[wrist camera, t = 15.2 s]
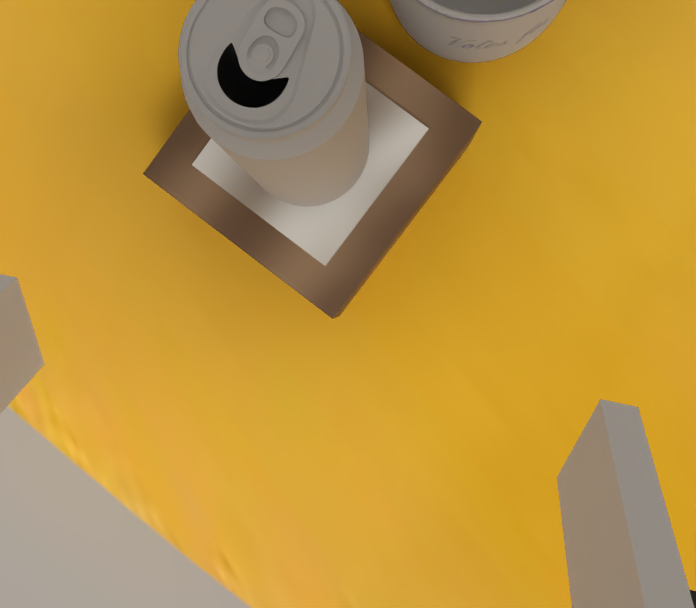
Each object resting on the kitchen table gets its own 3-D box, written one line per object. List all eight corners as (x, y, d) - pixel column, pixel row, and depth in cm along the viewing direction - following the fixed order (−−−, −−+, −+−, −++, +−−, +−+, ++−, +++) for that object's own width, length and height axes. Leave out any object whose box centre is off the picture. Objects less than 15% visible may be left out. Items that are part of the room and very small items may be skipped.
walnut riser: (467, 146, 35) (482, 120, 30) (339, 315, 36) (332, 318, 30) (295, 19, 36) (280, -29, 30) (172, 187, 36) (136, 169, 31)
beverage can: (227, 169, 31) (128, 85, 19) (290, 65, 30) (231, -88, 18) (328, 231, 30) (294, 188, 18) (393, 127, 30) (401, 14, 18)
